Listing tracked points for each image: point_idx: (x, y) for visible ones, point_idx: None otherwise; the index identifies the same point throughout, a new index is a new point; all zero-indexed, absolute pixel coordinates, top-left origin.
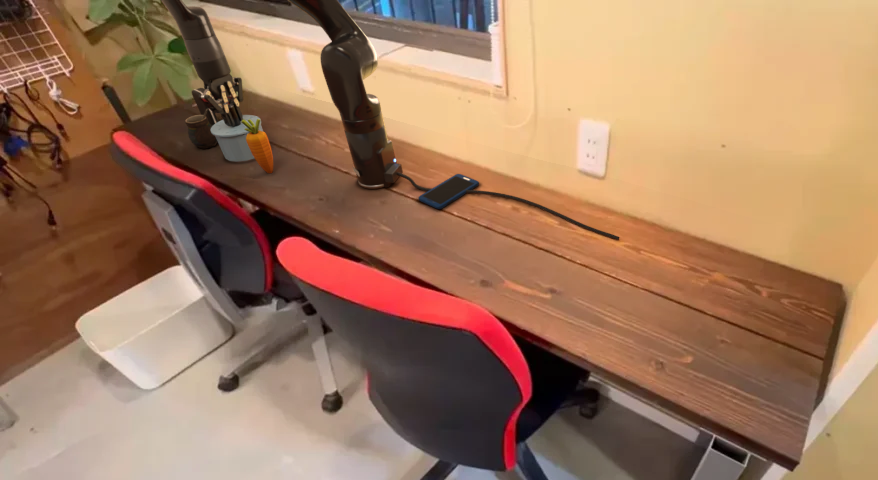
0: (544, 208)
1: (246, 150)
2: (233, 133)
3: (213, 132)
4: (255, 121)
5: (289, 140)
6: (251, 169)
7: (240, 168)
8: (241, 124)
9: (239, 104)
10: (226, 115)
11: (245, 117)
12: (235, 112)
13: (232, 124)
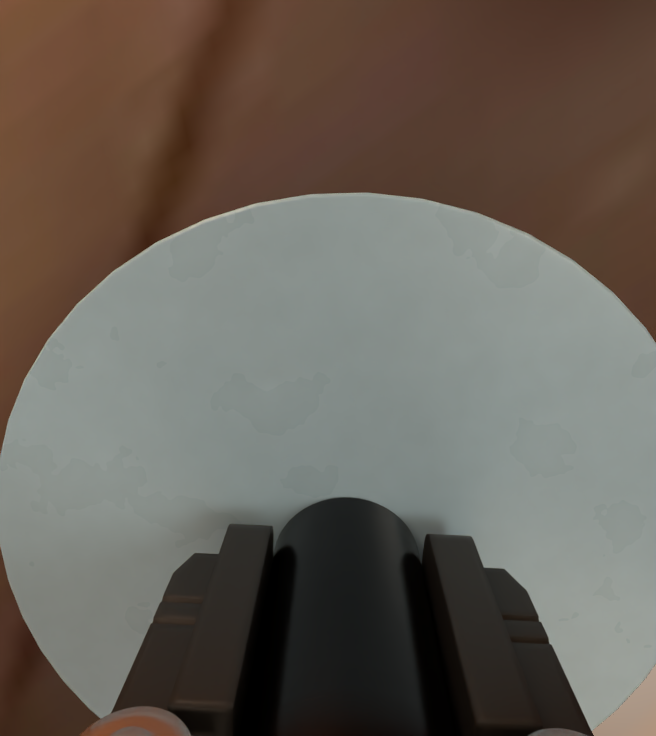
0: None
1: None
2: (647, 418)
3: (610, 698)
4: (184, 329)
5: (31, 146)
6: (634, 173)
7: (615, 292)
8: (328, 485)
9: (84, 733)
10: (564, 718)
11: (95, 569)
12: (329, 648)
13: (474, 555)
